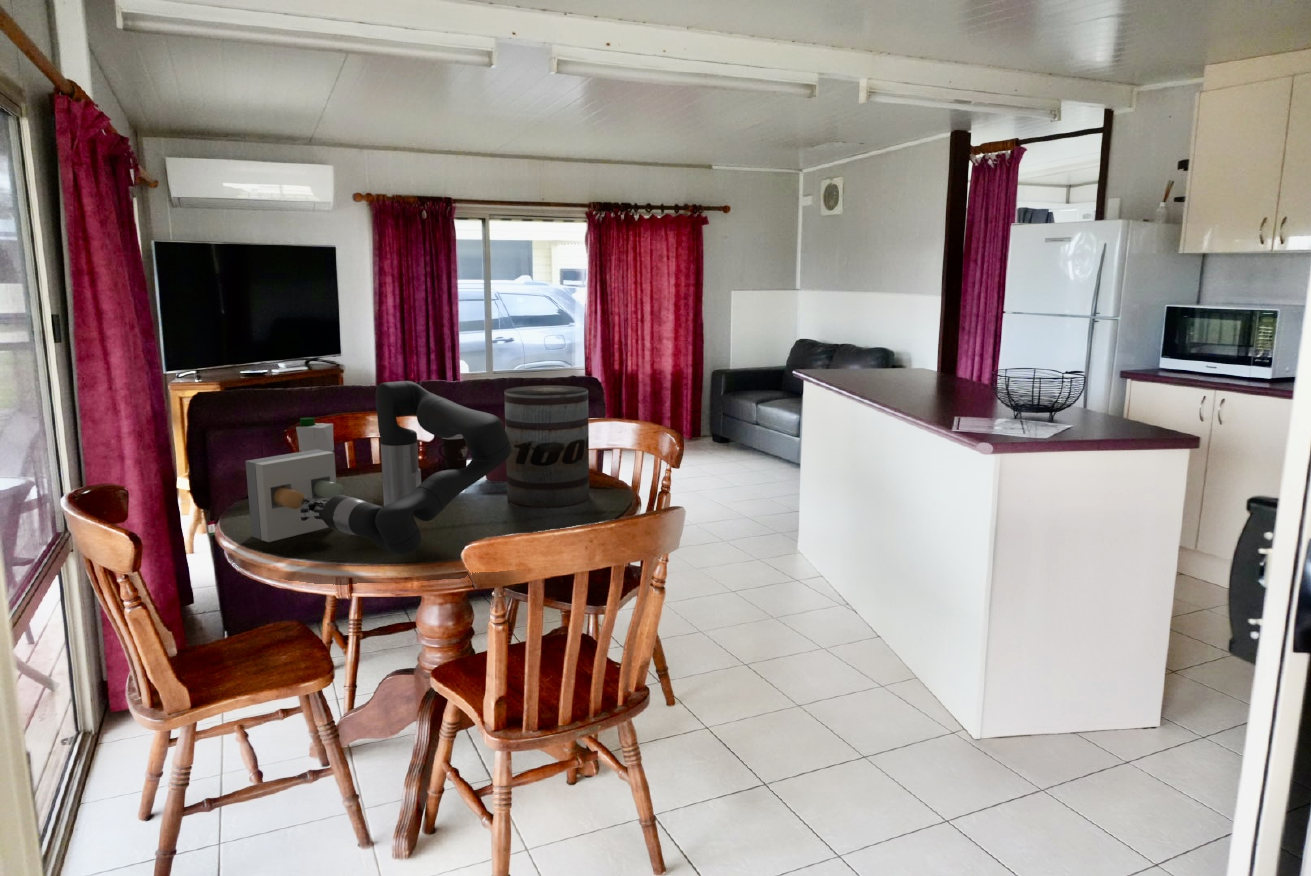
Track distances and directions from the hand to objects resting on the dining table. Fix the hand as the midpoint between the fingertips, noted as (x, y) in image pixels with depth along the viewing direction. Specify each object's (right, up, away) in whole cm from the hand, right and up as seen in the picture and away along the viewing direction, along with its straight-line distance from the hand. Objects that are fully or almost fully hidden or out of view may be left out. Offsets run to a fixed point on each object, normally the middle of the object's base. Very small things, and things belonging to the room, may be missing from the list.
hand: (305, 502), depth 189 cm
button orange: (-5, -1, +4) cm, 7 cm away
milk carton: (-20, 0, +59) cm, 62 cm away
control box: (-8, -8, +14) cm, 18 cm away
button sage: (+1, 0, +12) cm, 12 cm away
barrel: (+48, -2, +46) cm, 67 cm away
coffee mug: (+12, +5, +84) cm, 85 cm away
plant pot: (+31, +2, +69) cm, 75 cm away
